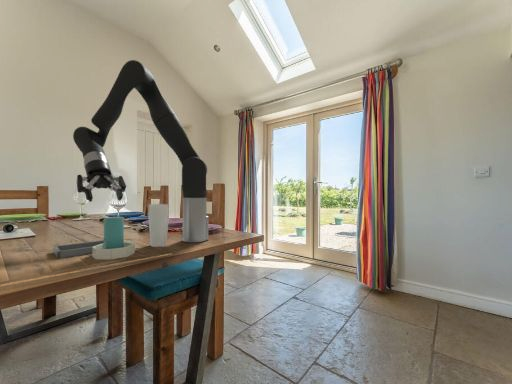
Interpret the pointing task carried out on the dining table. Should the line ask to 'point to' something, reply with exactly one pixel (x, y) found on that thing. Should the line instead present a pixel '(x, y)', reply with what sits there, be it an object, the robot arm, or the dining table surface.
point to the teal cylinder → (113, 232)
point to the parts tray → (75, 249)
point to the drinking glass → (158, 224)
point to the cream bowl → (113, 251)
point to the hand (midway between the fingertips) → (106, 199)
